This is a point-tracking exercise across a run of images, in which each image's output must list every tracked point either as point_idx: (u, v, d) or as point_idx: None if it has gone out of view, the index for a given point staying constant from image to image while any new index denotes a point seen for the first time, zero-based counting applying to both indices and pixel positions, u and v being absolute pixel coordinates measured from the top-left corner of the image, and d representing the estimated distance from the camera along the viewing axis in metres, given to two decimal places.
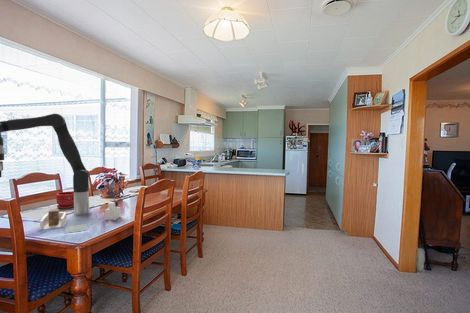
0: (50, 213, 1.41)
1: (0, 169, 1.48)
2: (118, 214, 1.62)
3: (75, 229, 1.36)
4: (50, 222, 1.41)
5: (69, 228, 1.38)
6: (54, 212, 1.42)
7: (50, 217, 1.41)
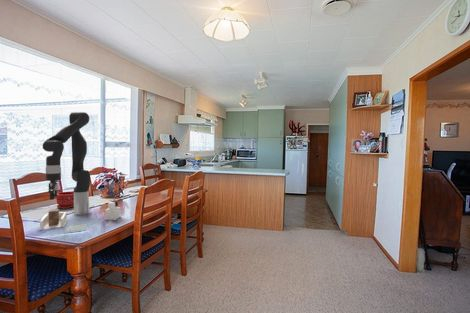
0: (50, 213, 1.41)
1: (56, 188, 1.46)
2: (118, 214, 1.62)
3: (75, 229, 1.36)
4: (50, 222, 1.41)
5: (69, 228, 1.38)
6: (54, 212, 1.42)
7: (50, 217, 1.41)
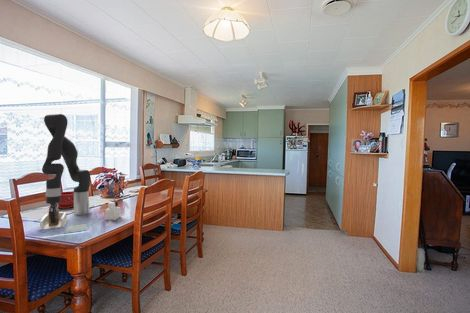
0: None
1: None
2: (118, 214, 1.62)
3: (75, 229, 1.36)
4: (50, 222, 1.41)
5: (69, 228, 1.38)
6: None
7: (50, 217, 1.41)
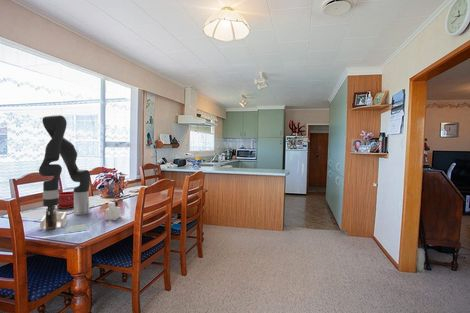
0: None
1: None
2: (118, 214, 1.62)
3: (75, 229, 1.36)
4: (47, 226, 1.35)
5: (69, 228, 1.38)
6: None
7: None
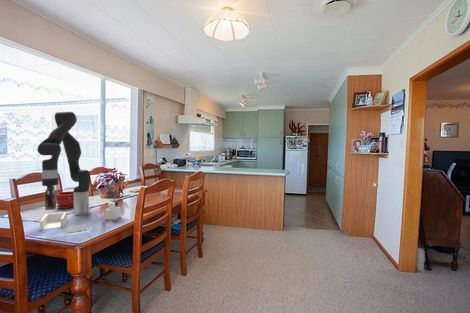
0: None
1: None
2: (118, 214, 1.62)
3: (75, 229, 1.36)
4: (47, 206, 1.32)
5: (69, 228, 1.38)
6: None
7: None
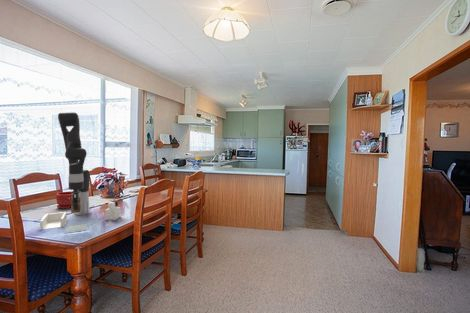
0: None
1: None
2: (118, 214, 1.62)
3: (75, 229, 1.36)
4: (72, 209, 1.36)
5: (69, 228, 1.38)
6: None
7: None
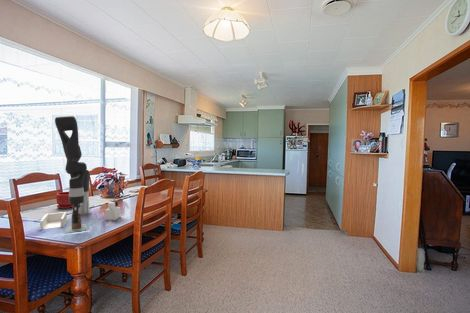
0: None
1: None
2: (118, 214, 1.62)
3: (75, 229, 1.36)
4: (73, 225, 1.37)
5: (69, 228, 1.38)
6: None
7: (73, 220, 1.36)
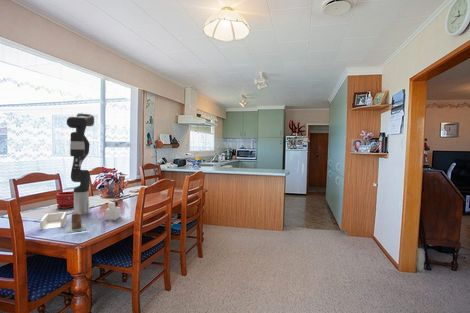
0: (73, 216, 1.36)
1: (80, 165, 1.48)
2: (118, 214, 1.62)
3: (75, 229, 1.36)
4: (73, 225, 1.37)
5: (69, 228, 1.38)
6: (77, 215, 1.37)
7: (73, 220, 1.36)
